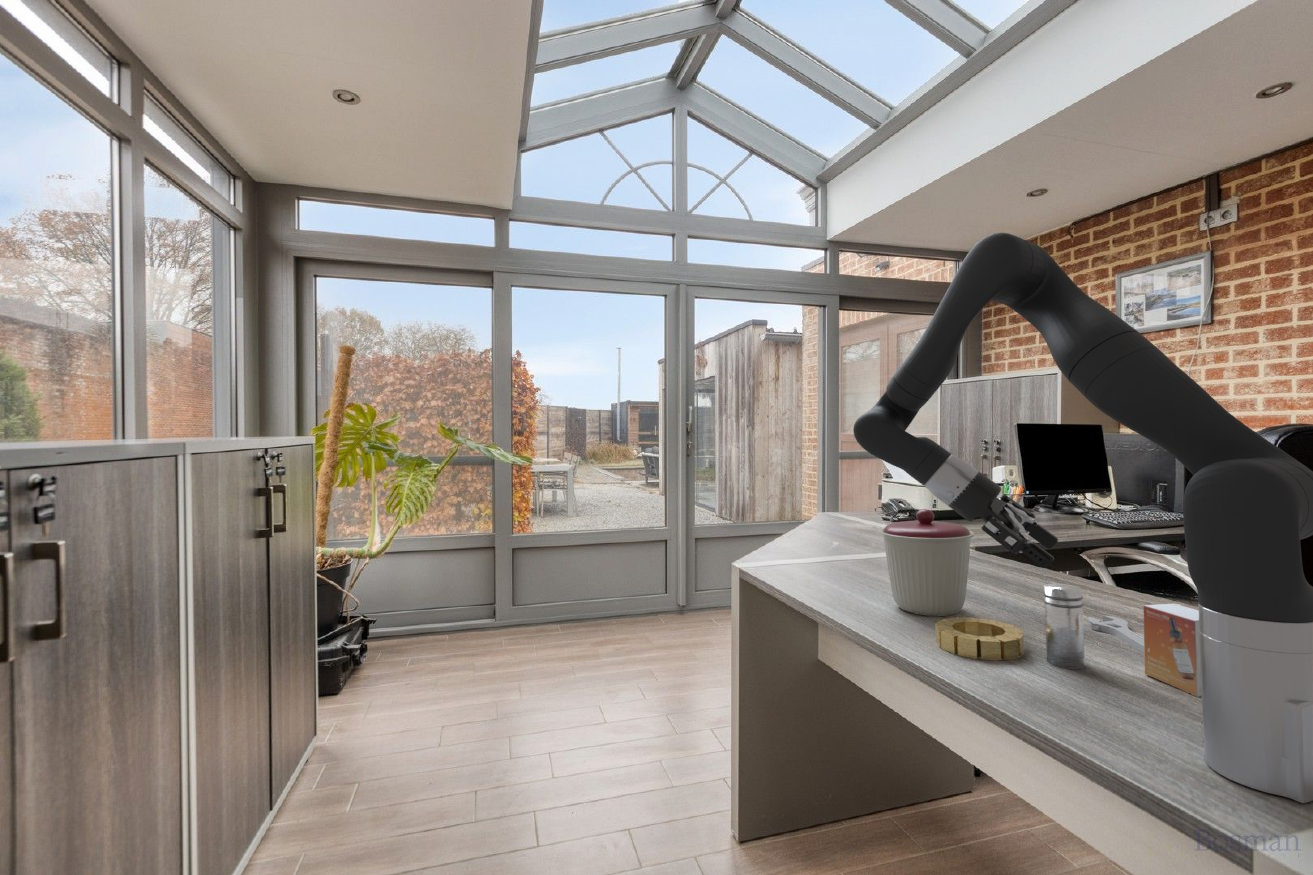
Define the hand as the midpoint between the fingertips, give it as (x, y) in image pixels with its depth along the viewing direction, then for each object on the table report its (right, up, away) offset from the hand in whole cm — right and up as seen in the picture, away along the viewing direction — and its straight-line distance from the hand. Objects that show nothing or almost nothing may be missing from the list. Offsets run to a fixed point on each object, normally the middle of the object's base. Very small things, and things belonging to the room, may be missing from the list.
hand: (1052, 553), depth 94 cm
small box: (+13, -17, -9) cm, 24 cm away
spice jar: (+2, -17, 0) cm, 18 cm away
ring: (-7, -18, +9) cm, 21 cm away
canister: (-5, -18, +31) cm, 37 cm away
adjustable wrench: (+19, -18, +8) cm, 27 cm away
